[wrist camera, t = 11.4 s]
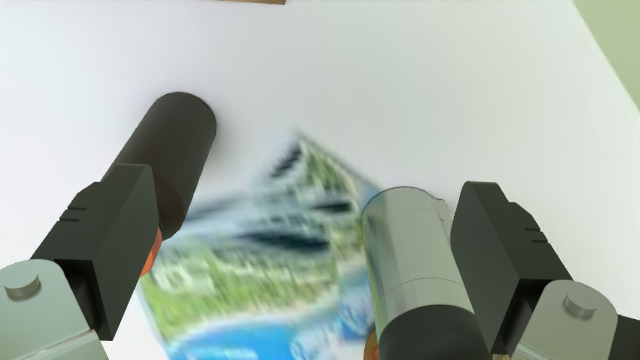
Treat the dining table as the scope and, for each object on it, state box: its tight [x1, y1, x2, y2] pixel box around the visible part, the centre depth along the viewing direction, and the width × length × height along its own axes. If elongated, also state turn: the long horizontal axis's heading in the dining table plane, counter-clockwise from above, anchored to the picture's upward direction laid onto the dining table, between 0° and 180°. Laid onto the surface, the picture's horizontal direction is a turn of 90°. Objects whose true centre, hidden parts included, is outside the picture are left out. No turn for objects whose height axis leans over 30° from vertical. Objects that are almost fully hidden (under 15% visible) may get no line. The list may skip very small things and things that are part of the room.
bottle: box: [100, 92, 216, 278], centre depth 40 cm, size 7×7×20 cm
